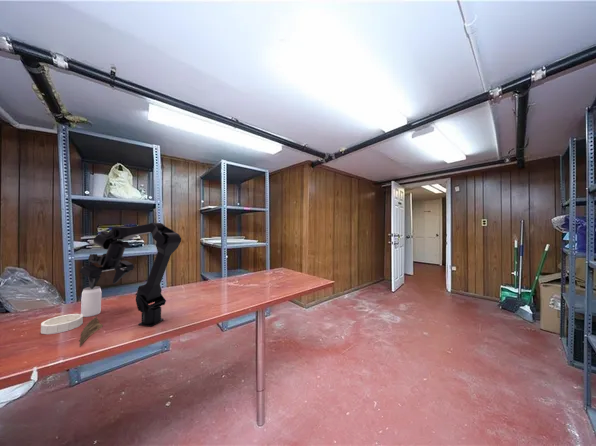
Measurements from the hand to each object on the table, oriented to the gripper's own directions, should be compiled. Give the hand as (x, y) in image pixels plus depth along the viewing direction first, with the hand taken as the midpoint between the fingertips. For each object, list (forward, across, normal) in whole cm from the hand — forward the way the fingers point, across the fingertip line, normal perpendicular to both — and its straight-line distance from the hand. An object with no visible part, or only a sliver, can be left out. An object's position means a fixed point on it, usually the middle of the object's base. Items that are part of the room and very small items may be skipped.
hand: (103, 285), depth 95 cm
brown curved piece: (+8, +14, +18) cm, 24 cm away
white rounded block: (+15, -1, -2) cm, 15 cm away
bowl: (+14, +11, +1) cm, 18 cm away
